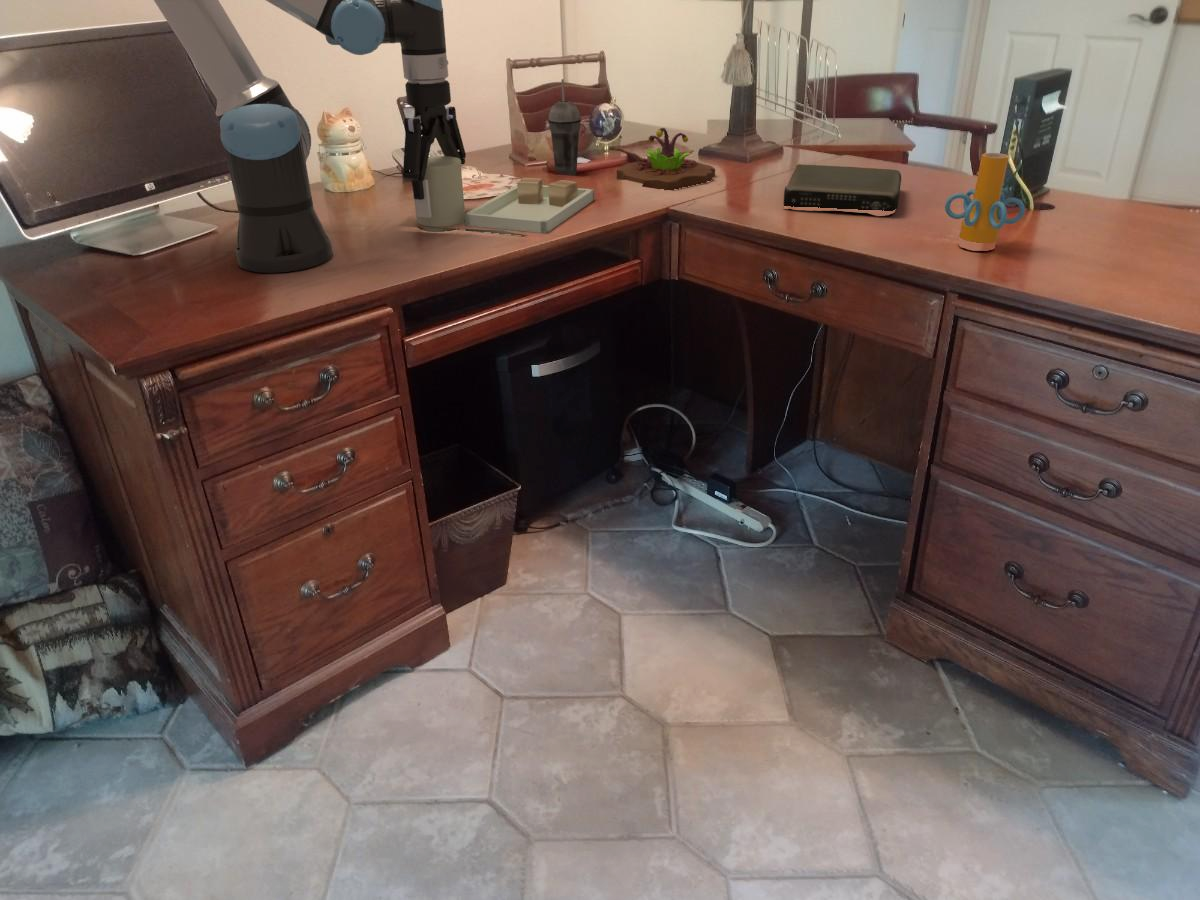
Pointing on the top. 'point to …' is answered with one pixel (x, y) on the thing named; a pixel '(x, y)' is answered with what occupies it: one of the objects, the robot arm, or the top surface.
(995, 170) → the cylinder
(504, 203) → the tray
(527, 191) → the block
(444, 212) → the can
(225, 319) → the top surface
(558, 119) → the beverage cup
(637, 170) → the plant
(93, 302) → the top surface
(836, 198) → the network switch
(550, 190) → the block
